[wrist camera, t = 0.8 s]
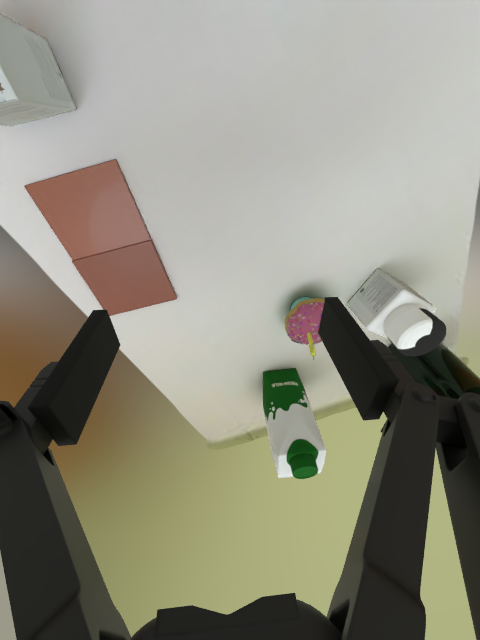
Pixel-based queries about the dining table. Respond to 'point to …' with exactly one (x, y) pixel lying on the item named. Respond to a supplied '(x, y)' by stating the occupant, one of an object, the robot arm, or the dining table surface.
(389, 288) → the container
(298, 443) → the milk carton
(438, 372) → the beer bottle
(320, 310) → the cupcake
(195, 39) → the dining table surface
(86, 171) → the napkin
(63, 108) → the small box
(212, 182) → the dining table surface
